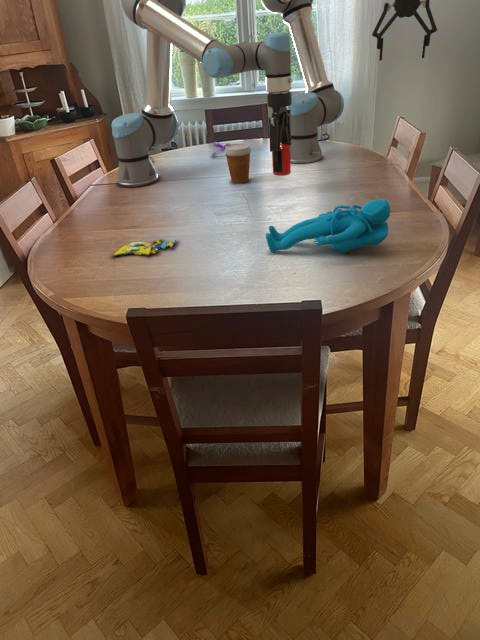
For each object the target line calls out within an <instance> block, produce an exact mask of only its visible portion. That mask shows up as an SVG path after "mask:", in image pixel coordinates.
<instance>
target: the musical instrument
mask: <svg viewBox="0 0 480 640" xmlns="http://www.w3.org/2000/svg"><path fill="white" fill-rule="evenodd" d="M212 144H213V145H214V146H217V147H219V149H217V150H216V151H215V152H213V153H212V154H211V156H212V157H213V158H215V157H217V158H222V157H226V154H224V155H216V154H217V153H218V152H219V151H221V150H222V149H224V150H225V147H226V146H228V145H232V144H233V143H226V144H221V143H220V142H218V141H213V142H212Z"/></svg>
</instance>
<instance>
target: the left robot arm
mask: <svg viewBox="0 0 480 640" xmlns="http://www.w3.org/2000/svg"><path fill="white" fill-rule="evenodd" d="M120 4H121V9H122V11H123V13H124V14H125V15H126V17H127V18H128V19H129V20H130V22H132V23H133V24H135V25H136V26H138V27H139V28H140V29H143V30H146V63H145V64H146V68H145V69H146V71H145V74H146V75H145V102H144V103H143V104H142V105H141V113H140V112H131V113H130V112H129V113H126V114H122V115H120V116H117V117H115V118H114V119H113V120H112V122H111V135H112V138H113V141H114V146H115V151H116V155H117V160H118V167H117V168H118V170H117V183H118V186H120V187H123V188H124V187H125V188H136V187H137V188H138V187H145V186H147V185H148V186H149V185H151V184H154V183H156V182H157V181H158V180H159V176H158V172H157V169H156V168H155V166H154V163H153V158H152V157H151V156H150V151H155V149H154V147H155V148H156V147H157V146H160V145H165V144H168V143H170V142H171V141H173V140H174V139H175V138H176V137H177V135H178V132H179V120H178V119H177V115H176V113H175V112H174V109H173V107H172V106H171V105H170V100H171V99H170V98H171V97H170V96H171V75H172V73H171V72H172V54H173V53H172V52H173V51H172V50H173V46H174V47H176V48H178V49H179V50H180V51H182V52H183V53H184V54H186V55H188V56H190V57H191V58H192V59H194V60H196V61H197V62H198V63H200V64H201V65H202V67H203V70H204V71H205V73H206V75H207V76H208V77H209V78H212V79H224V78H227V77H229V76H234V75H237V74H242V73H246V72H247V73H248V72H252V71H265V86H266V87H265V88H266V89H265V91H266V92H267V93H266V106H267V107H268V108H271V109H272V111H271V117H268V118H267V119H268V121H267V122H268V130H269V132H268V133H269V134H268V135H269V137H268V138H269V152H270V153H272V152H273V162H272V168H273V167H274V172H282V151H280V148H281V144H288V145H291V144H292V142H291V125H290V113H291V110H287V106H290V105H291V104H292V96H293V94H292V92H291V90H292V83H293V81H294V79H292V71H291V69H292V68H291V66H292V65H291V64H292V63H291V62H292V60H291V59H292V58H291V57H292V47H291V35H290V34H289V33H288V32H285V31H283V32H282V31H281V32H270V33H265V35H264V36H263V41H243V42H241V41H240V42H237V43H234V44H230V45H226V44H224V43H222V42H221V41H219V40H218V39H216V38H215V37H213V36H211V35H210V34H208V33H207V32H205V31H203V30H202V29H200V28H199V27H198V26H196V25H194V24H193V23H192V22H190V21H188V20H186V19H185V18H183V15H184V14H185V11H186V8H187V1H186V0H120Z"/></svg>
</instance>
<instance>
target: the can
mask: <svg viewBox="0 0 480 640" xmlns="http://www.w3.org/2000/svg"><path fill="white" fill-rule="evenodd" d="M280 151H282V172H274V167H273V166H272V175H273V176H276V177H283V176H284V177H285V176H289V175H291V173H292V169H291V168H292V165H291V164H292V163H291V161H290V145H288V144H281V148H280ZM271 158H272V160H271V161H272V163H273V152H271Z"/></svg>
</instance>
